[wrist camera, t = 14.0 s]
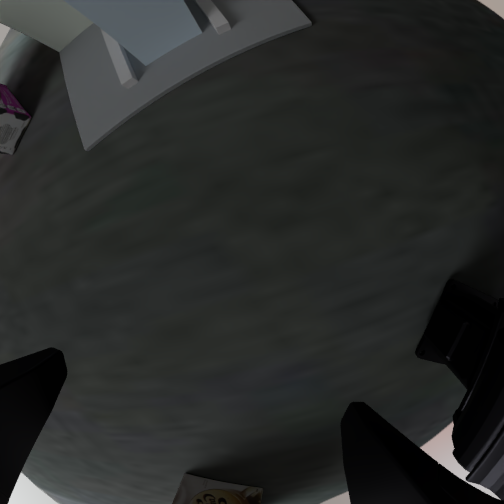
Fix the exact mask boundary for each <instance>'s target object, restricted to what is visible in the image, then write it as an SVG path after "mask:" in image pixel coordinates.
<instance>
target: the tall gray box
mask: <svg viewBox="0 0 504 504" xmlns="http://www.w3.org/2000/svg"><path fill="white" fill-rule="evenodd" d="M64 1H65V2H67V3H68V4H69V5H71V6H72V7H73V8H75V9H76V10H77V11H79V12H80V13H81V14H83V15H84V16H85V17H87V18H88V19H89V20H91V21H92V22H93V23H94V24H96V25H97V26H98V27H100V28H101V29H102V30H103V31H105V32H106V33H107V34H108V35H110V36H111V37H112V38H113V39H114V40H116V41H117V42H118V43H119V44H120V45H122V46H123V47H124V48H125V49H126V50H128V51H129V52H130V53H131V54H132V55H134V56H135V57H136V58H137V59H138V60H139V61H141V62H142V63H143V64H144V65H145V66H147V65H149V64H150V63H152V62H153V61H155V60H156V59H158V58H159V57H161V56H163V55H164V54H166V53H167V52H169V51H171V50H172V49H174V48H176V47H178V46H179V45H181V44H183V43H185V42H186V41H188V40H190V39H192V38H194V37H196V36H198V35H199V34H201V33H202V31H201V29H200V28H199V26H198V24H197V22H196V21H195V19H194V17H193V16H192V14H191V12H190V10H189V9H188V7H187V5H186V4H185V2H184V0H64Z"/></svg>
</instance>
